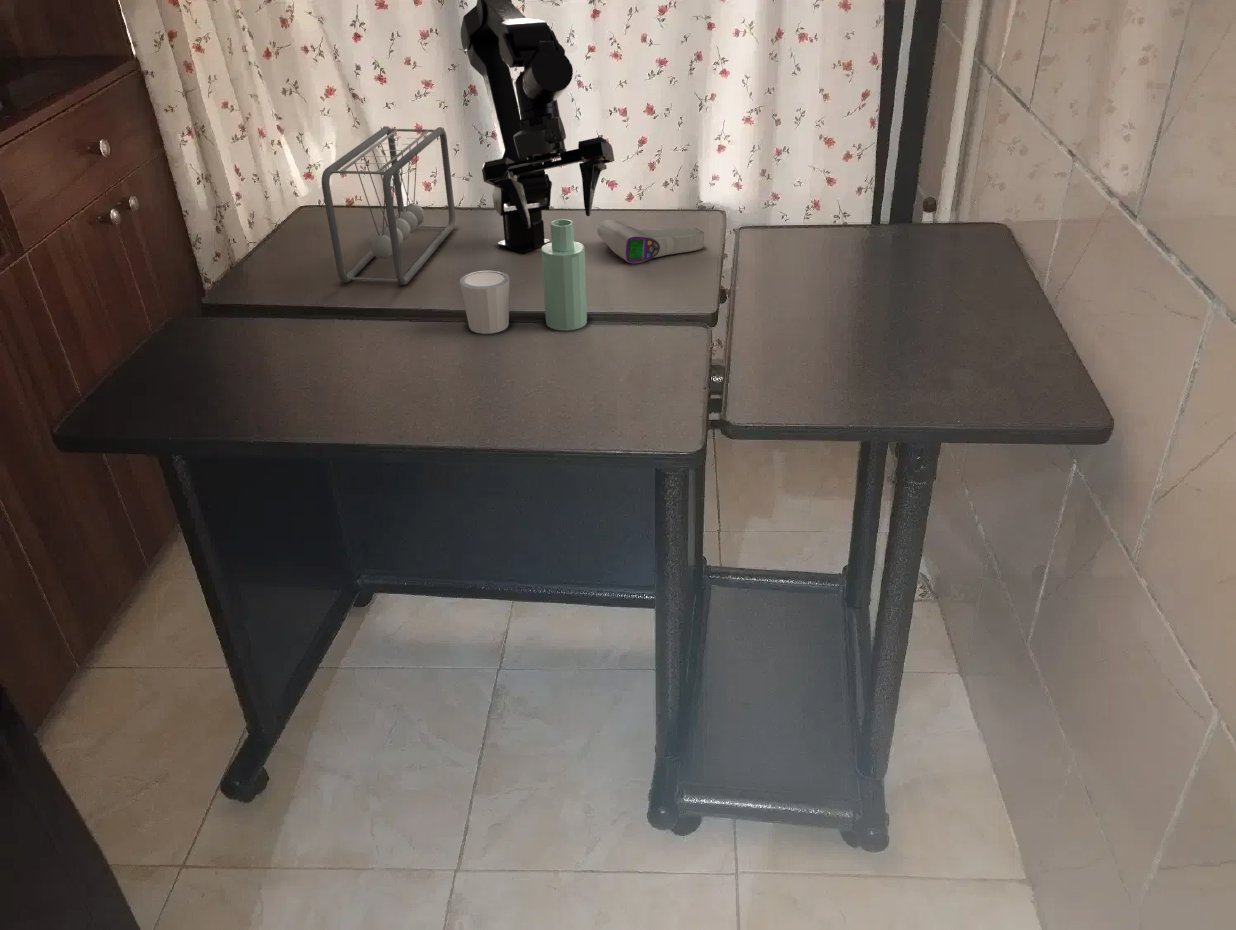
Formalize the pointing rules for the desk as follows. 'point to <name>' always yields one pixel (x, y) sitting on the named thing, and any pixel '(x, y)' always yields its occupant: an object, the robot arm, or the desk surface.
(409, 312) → the desk surface
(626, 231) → the infrared thermometer
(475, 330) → the shot glass
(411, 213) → the newton's cradle
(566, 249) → the water bottle
